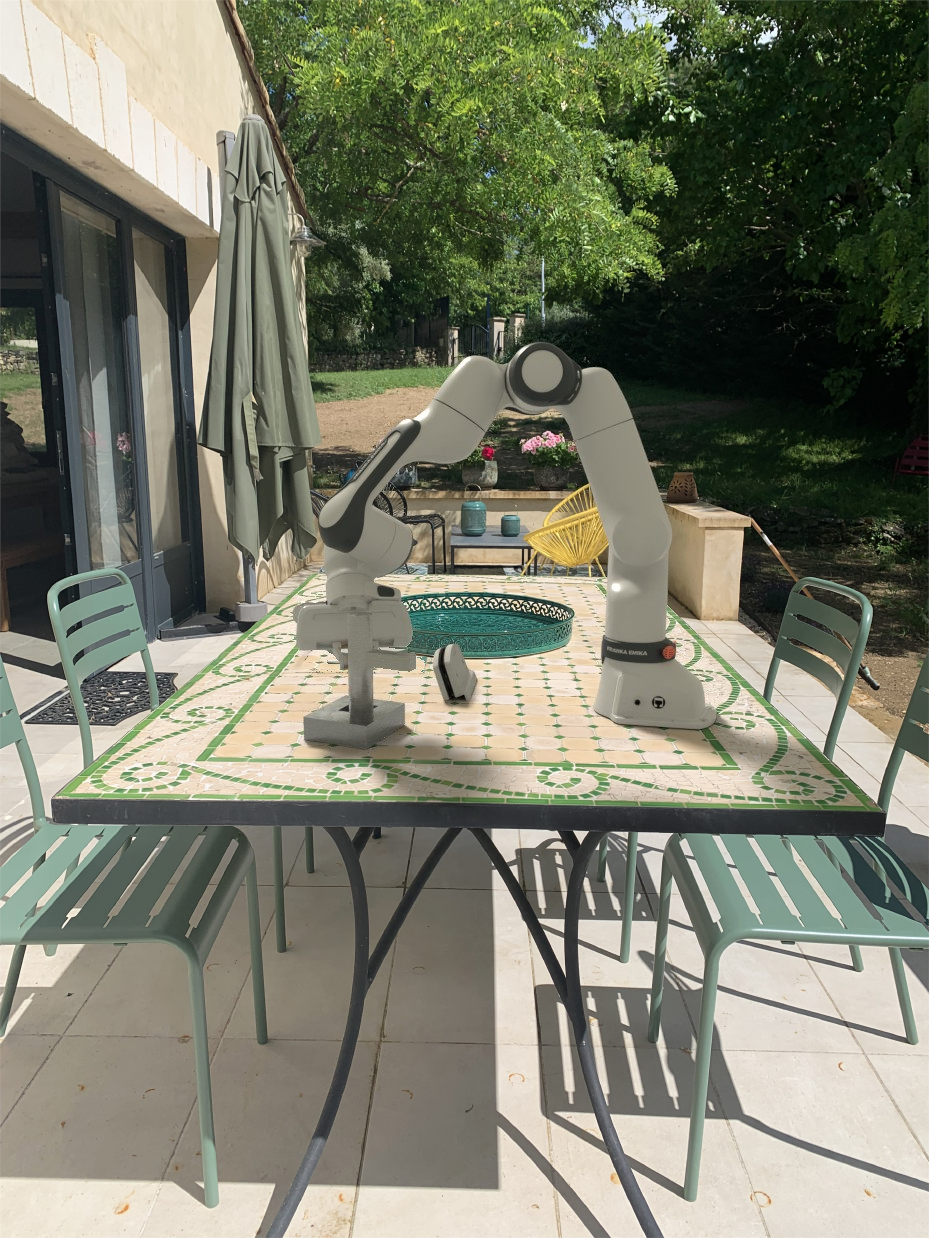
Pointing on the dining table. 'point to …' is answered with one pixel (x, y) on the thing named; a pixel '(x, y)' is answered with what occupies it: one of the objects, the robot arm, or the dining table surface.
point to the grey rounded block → (453, 672)
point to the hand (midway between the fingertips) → (357, 667)
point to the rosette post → (360, 694)
